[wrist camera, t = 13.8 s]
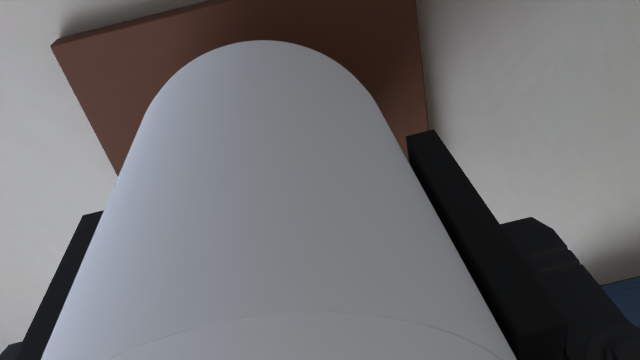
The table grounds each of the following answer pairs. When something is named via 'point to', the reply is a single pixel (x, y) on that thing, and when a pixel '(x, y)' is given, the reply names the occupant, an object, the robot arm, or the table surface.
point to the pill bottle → (270, 229)
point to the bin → (626, 298)
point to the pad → (239, 26)
